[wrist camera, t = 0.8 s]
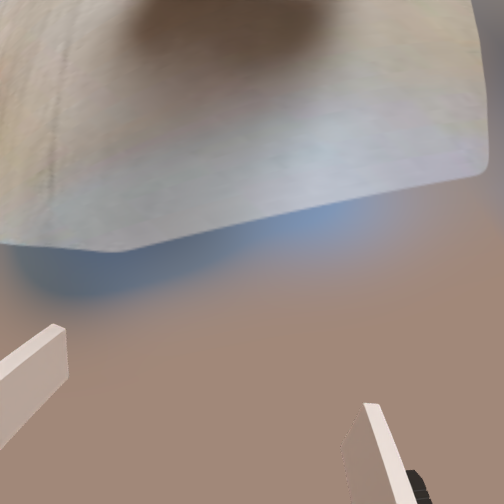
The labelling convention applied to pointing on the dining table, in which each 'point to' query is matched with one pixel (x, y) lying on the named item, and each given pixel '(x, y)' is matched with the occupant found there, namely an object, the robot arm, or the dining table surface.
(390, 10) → the dining table surface
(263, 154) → the dining table surface
